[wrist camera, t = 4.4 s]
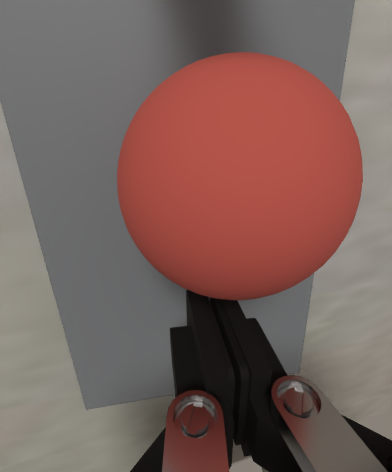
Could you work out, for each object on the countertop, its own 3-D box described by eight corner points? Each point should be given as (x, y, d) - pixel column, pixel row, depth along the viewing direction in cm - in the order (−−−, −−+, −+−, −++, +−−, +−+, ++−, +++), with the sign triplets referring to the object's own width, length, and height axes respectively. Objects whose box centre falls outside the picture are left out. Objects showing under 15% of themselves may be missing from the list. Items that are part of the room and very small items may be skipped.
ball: (441, 245, 3) (318, -97, 5) (43, 304, 5) (70, 67, 7) (383, 295, 8) (336, 120, 10) (194, 313, 10) (186, 172, 12)
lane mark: (297, 369, 15) (299, 372, 15) (86, 405, 14) (86, 409, 14) (419, -475, 6) (428, -493, 6) (-205, -658, 4) (-220, -692, 4)
